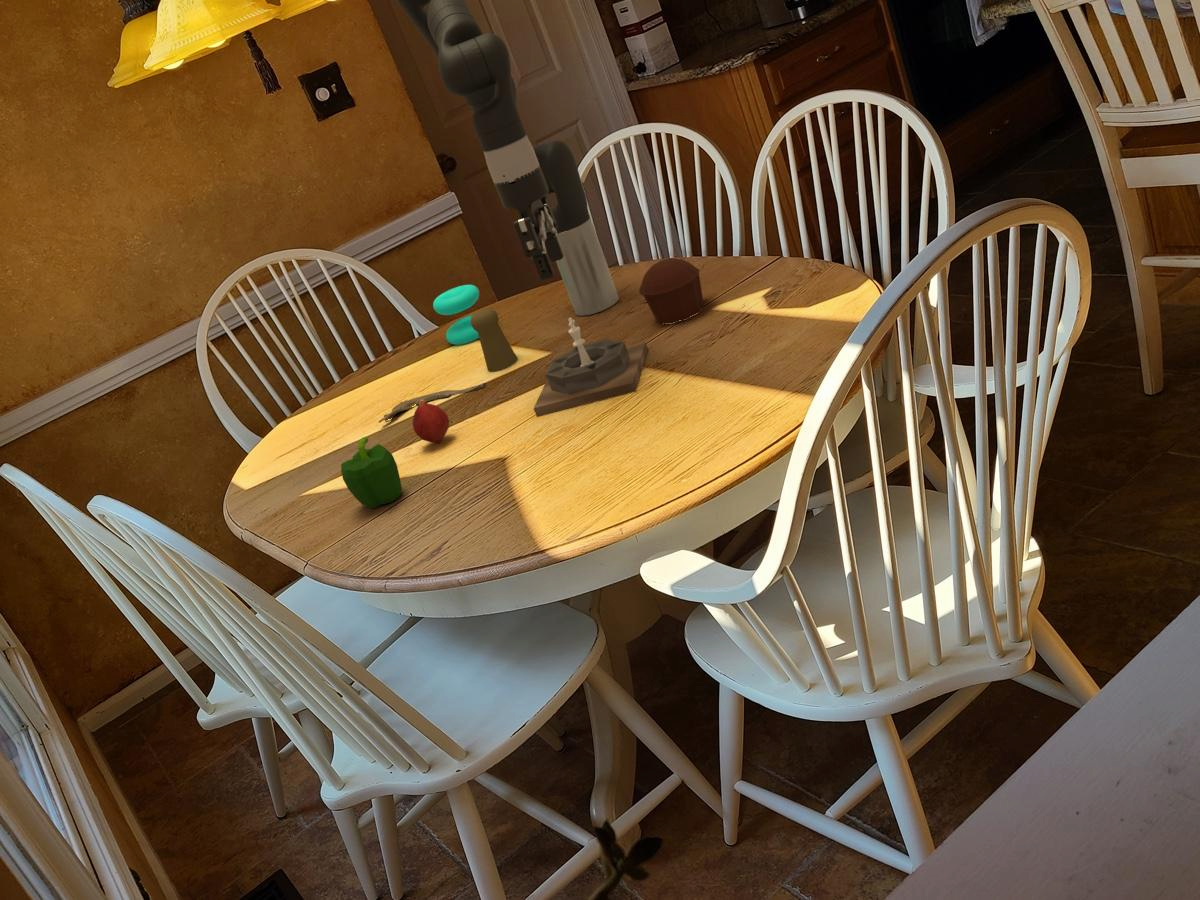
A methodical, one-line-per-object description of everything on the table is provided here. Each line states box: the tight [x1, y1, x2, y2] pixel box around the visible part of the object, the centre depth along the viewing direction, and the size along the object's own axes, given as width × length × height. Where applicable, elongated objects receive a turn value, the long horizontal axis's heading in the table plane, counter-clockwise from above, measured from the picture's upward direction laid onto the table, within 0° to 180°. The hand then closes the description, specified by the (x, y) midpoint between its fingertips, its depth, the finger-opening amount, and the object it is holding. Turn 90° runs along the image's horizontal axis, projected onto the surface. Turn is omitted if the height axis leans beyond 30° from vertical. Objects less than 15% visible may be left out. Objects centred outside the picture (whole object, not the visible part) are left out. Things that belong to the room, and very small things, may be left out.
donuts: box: [432, 284, 480, 346], centre depth 231 cm, size 10×10×10 cm
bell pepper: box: [340, 436, 403, 509], centre depth 169 cm, size 8×8×10 cm
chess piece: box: [568, 317, 594, 367], centre depth 182 cm, size 5×5×10 cm
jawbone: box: [378, 382, 487, 424], centre depth 205 cm, size 9×20×2 cm, turn 101°
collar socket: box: [533, 338, 649, 417], centre depth 184 cm, size 17×17×4 cm
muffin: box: [638, 257, 705, 325], centre depth 198 cm, size 12×11×10 cm
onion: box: [412, 399, 450, 444], centre depth 183 cm, size 6×6×8 cm
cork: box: [471, 308, 519, 373], centre depth 207 cm, size 6×6×11 cm
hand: (553, 268), depth 177 cm, fingers open, 8 cm apart
